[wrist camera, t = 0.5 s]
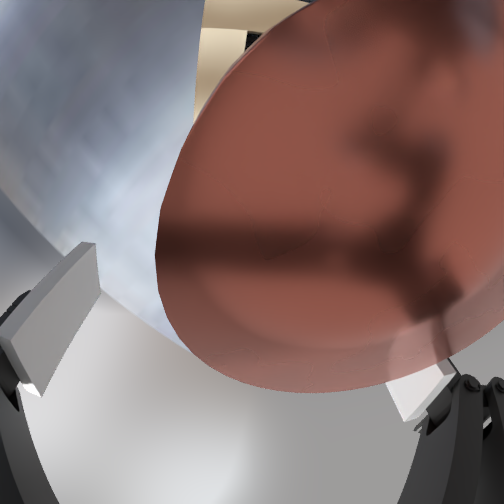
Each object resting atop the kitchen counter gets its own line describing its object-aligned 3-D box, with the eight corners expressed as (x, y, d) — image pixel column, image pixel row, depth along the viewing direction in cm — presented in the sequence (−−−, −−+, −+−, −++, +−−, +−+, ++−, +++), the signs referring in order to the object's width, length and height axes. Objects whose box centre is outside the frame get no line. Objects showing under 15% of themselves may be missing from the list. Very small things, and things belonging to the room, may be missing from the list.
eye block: (213, 0, 12) (206, -10, 9) (379, 35, 13) (407, 38, 10) (199, 148, 20) (191, 171, 17) (343, 165, 21) (359, 190, 19)
